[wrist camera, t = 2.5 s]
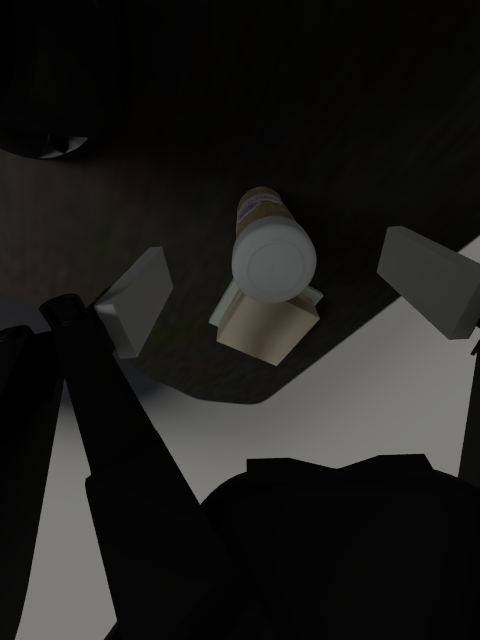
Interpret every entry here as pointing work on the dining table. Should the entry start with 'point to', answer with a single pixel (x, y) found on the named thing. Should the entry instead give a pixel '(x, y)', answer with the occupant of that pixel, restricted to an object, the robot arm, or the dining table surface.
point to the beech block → (266, 325)
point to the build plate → (233, 289)
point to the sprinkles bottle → (270, 249)
